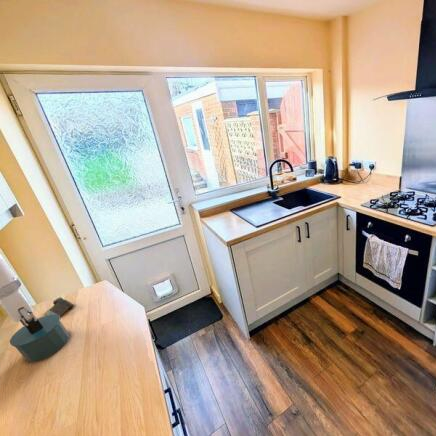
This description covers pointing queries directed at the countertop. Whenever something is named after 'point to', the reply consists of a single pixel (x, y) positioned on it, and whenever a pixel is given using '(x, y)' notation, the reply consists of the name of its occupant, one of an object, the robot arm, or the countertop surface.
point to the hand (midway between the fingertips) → (33, 326)
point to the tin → (45, 345)
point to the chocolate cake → (59, 307)
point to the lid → (26, 337)
